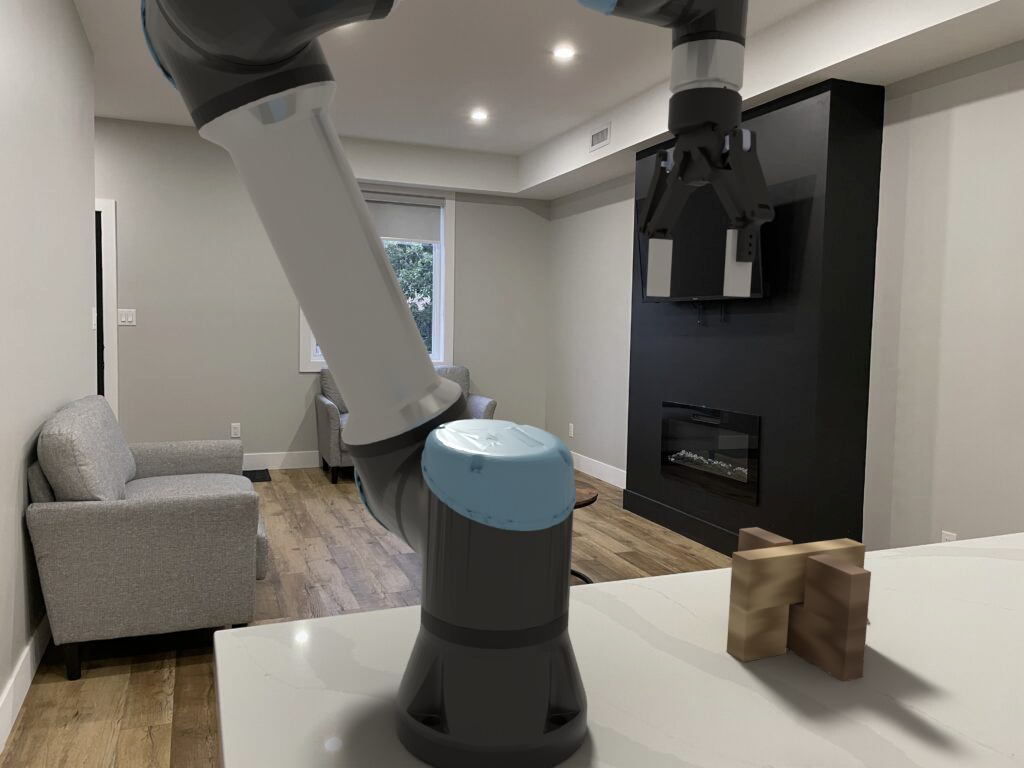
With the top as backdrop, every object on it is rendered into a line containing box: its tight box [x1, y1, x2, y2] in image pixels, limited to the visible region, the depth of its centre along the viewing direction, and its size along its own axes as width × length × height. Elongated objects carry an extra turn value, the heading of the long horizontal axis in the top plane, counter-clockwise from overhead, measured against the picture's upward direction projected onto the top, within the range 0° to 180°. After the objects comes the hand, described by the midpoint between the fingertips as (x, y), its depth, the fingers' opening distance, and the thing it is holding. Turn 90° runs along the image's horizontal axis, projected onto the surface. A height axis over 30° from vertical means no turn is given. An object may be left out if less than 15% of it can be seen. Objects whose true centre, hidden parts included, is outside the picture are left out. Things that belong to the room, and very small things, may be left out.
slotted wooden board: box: [737, 526, 872, 682], centre depth 77 cm, size 15×2×10 cm, turn 24°
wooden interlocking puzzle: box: [726, 537, 866, 663], centre depth 77 cm, size 15×2×10 cm, turn 114°
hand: (694, 296), depth 84 cm, fingers open, 13 cm apart
